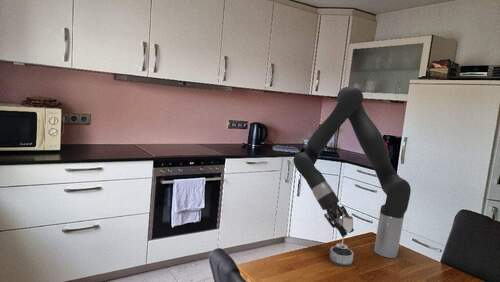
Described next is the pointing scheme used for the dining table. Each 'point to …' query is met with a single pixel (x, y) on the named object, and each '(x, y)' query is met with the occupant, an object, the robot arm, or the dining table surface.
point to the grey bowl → (341, 256)
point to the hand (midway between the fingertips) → (348, 233)
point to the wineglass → (347, 225)
